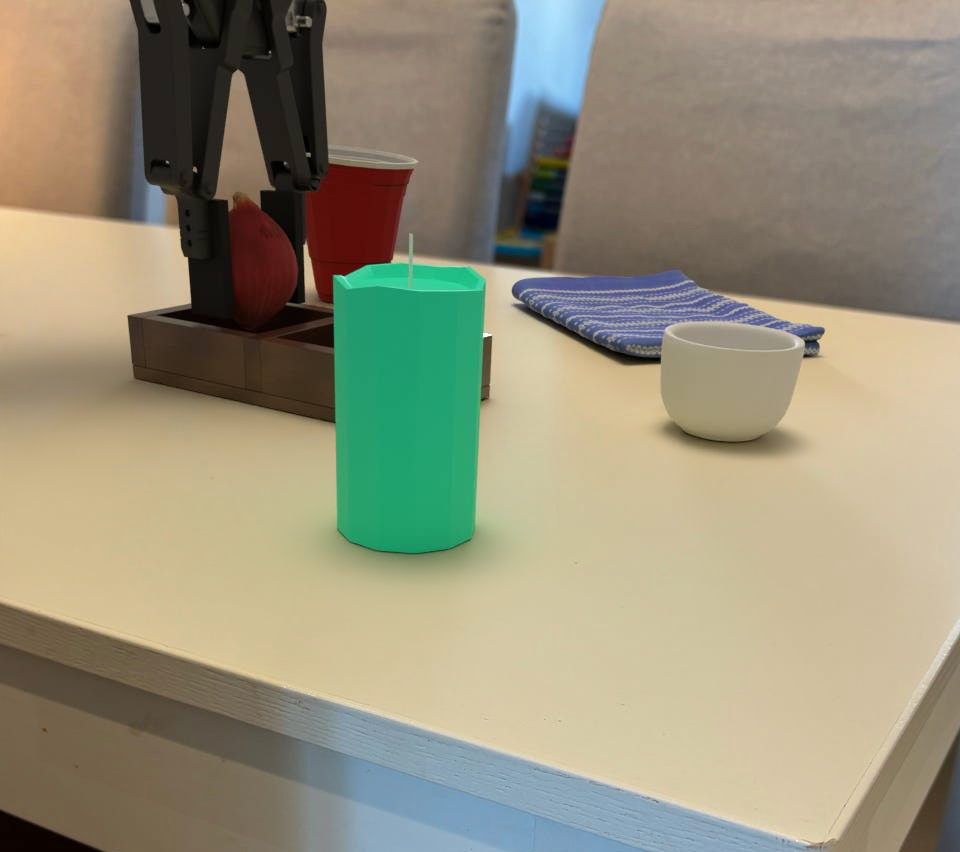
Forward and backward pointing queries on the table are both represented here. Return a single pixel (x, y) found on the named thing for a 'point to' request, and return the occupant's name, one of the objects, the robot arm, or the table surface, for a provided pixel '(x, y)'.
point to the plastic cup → (355, 213)
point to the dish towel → (642, 309)
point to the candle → (408, 404)
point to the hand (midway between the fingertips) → (250, 306)
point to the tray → (249, 357)
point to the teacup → (728, 378)
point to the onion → (259, 264)
